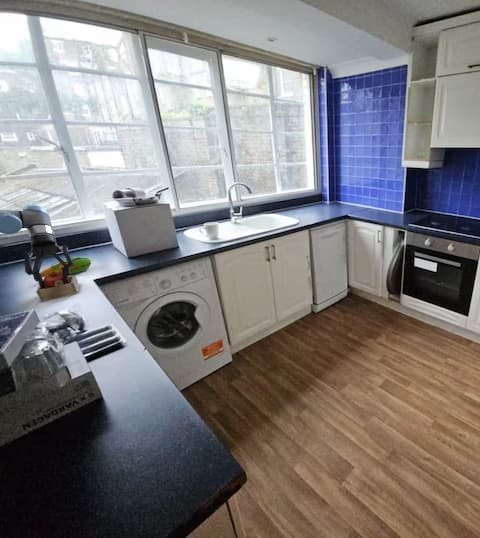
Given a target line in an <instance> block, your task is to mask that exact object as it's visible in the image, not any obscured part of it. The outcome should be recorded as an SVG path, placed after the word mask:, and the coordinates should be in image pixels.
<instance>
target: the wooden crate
mask: <svg viewBox="0 0 480 538" xmlns="http://www.w3.org/2000/svg"><path fill="white" fill-rule="evenodd" d="M68 279H69V282H70V283H67V282H66V284H65V285H60V286H56V287H51V288H49V287H47V286H46V285H45V284H44V286H45V288H44V289H42V288H41V287H40V286H39V285H37V289H36V291H35V292H36V295H37V296H38V298H39V300H40V302H41V303H43V302H47V301H51V300H55V299H59V298H63V297H67V296H71V295H76V294H78V293H79V289H80V282H79V281H78V279H77V277H76V275H75V274H72V275H69V276H68Z"/></svg>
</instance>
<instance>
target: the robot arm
mask: <svg viewBox="0 0 480 538" xmlns="http://www.w3.org/2000/svg"><path fill="white" fill-rule="evenodd" d="M22 229H27V233H28V237H29V241H30V245H31V249H30V251H23V252H21V253H22V255H23V257H24V272H25V274H27V275H28V276H31V275H32V277H33V280H34V281H35V282H36V283H37V282H38V286H40V287H41V288H42V289H44V288H45V286H44V283H43V279H44V277H42V275H41V274H40V272H41V271H40V270H41V269H42V264H43V262H44V260H45V259H47V258H54V259H55V260H57V262H58V261H59V263H61V264H62V265H63V266H64V267H61V268H62V272H63V275H64V279H65V281H66V282H67V283H70V282H69V279H68V275H69V276H71V275H70V274H71V273H70V270H69V268H70V267H73V266H74V264H73V261H72V259H71V258H72V257H71V255H70V253H69V247H68V246H67V245H66V244H63V245H62V246H61V245H58V244H57V239H56V235H55V232H54V229H53V225H52V222H51V217H50V214H49V212H48V210H47V208H45V207H43V206H41V205H35V204H32V205H26V206H25V207H23V209H22V210H9V209H0V234H5V235H14V234H17V233H18V232H20V231H21V230H22ZM59 251H61V252H62V253H63V255H64V257H65V259H67V260H66V261H68V264H66V263H65V262H66V261H63V260H64V259H62V258H61V257H60V256H59V255H58V252H59ZM33 255H34V256H35V259H34V260H35V261H34V264H33V263H32V257H33ZM32 264H33V265H32Z"/></svg>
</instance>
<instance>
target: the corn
mask: <svg viewBox="0 0 480 538" xmlns="http://www.w3.org/2000/svg"><path fill="white" fill-rule="evenodd" d="M71 259H72V261H73V264H74V266H73V267H70V268H69V270H70V273H71V274H70V275H68V276H73V275H75V274H78V273H81V272H84V271H86V270H87V269H88V268H90V267H91V265H92V260H91V259H90V258H88V257H85V256H72V257H71ZM62 260H63V261H64V262H65V263H66V264H68V261H67V259H66V258H65V259H62ZM52 265H57V266H59V268H58V269H56V270H54V273H63V272H62V268H61V267H64V266H63V265H62V264H61V263H60V262H59V261H58V260H57V261H56V262H53V263H52ZM51 271H52V270H51V266H50V267H47V268H45V269H44V270H42V271H39V273H40V274H41V275H42V278H45V277H46V276H47V275H49V274H52V272H51Z"/></svg>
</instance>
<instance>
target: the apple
mask: <svg viewBox="0 0 480 538" xmlns="http://www.w3.org/2000/svg"><path fill="white" fill-rule="evenodd" d="M50 267H51V270H52V271H51V272H52V274H49V275H47V276H46V277H43V283H44V284H45V285H46V286H47V287H49V288H51V287H56V286H60V285H65V284H66V281H65V279H64V275H63V273H54V270H56V269H58V268H59V266H57V264H51V266H50Z"/></svg>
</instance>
